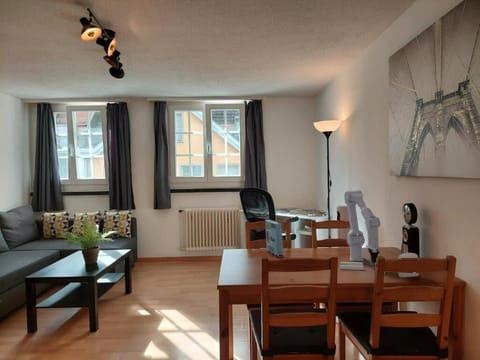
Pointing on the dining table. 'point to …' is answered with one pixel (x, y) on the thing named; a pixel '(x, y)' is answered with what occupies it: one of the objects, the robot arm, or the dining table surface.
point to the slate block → (371, 261)
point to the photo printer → (408, 255)
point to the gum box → (274, 237)
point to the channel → (351, 265)
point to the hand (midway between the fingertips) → (373, 261)
